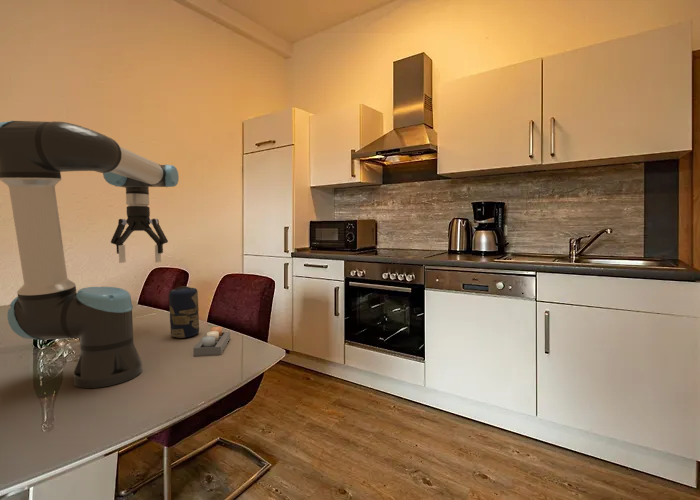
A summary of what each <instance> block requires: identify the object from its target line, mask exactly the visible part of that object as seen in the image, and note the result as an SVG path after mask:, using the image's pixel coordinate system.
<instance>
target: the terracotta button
mask: <svg viewBox="0 0 700 500" xmlns="http://www.w3.org/2000/svg"><path fill="white" fill-rule="evenodd" d="M211 331H218V332H219V336H221V335H222V332H223V326H213V327H211V328H210V332H211Z"/></svg>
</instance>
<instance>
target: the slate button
mask: <svg viewBox="0 0 700 500" xmlns="http://www.w3.org/2000/svg"><path fill="white" fill-rule="evenodd" d="M202 337H203V336H202ZM213 346H215V336H206V337H203V347H213Z"/></svg>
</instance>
